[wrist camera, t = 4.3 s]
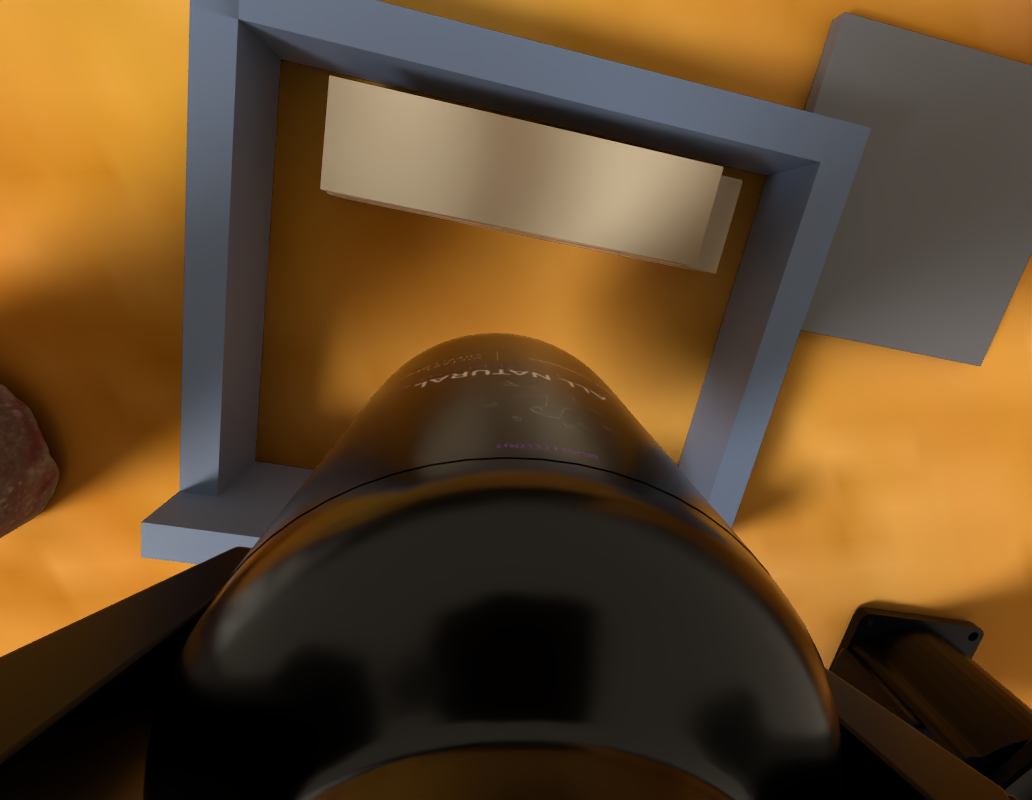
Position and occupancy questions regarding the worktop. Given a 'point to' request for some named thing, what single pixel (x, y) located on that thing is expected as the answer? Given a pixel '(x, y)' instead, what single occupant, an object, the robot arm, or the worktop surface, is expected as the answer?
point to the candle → (22, 465)
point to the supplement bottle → (497, 616)
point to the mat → (925, 191)
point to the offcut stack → (523, 177)
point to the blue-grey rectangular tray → (500, 87)
